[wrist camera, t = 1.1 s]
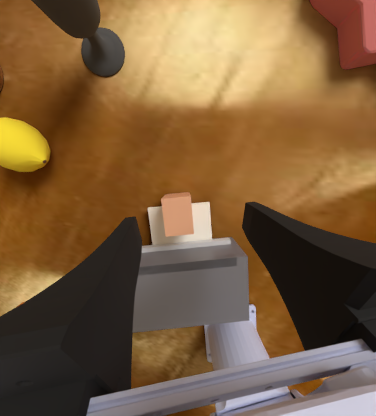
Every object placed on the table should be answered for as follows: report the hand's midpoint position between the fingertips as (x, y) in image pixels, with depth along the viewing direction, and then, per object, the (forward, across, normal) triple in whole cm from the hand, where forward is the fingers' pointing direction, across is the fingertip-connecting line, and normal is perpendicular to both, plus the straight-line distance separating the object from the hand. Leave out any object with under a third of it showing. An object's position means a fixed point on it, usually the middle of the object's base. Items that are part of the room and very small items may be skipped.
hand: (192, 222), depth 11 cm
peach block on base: (+8, 0, +9) cm, 13 cm away
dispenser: (+8, 0, +14) cm, 16 cm away
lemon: (+16, +17, -3) cm, 23 cm away
